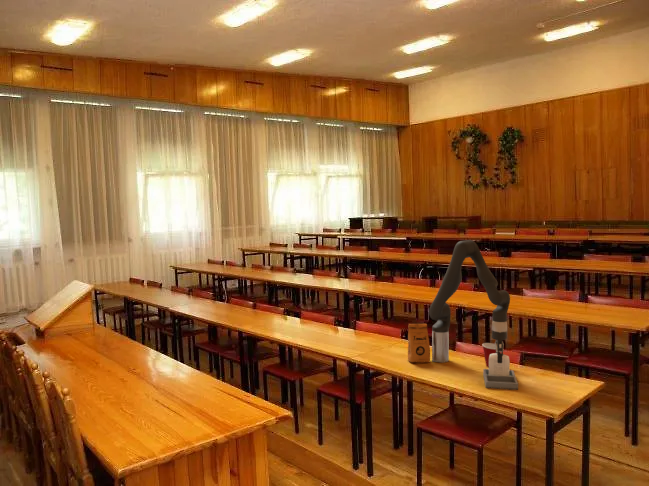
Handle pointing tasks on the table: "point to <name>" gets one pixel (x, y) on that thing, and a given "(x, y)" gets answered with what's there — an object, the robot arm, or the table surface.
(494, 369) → the beige rounded slab
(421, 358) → the coffee package
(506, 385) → the grey divided tray
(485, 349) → the plastic cup
